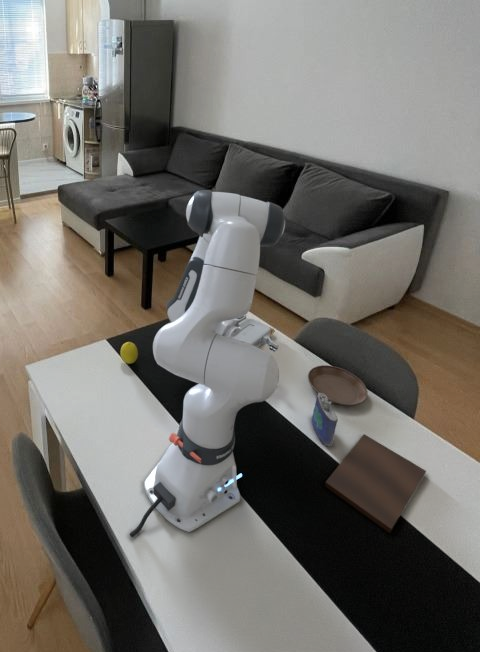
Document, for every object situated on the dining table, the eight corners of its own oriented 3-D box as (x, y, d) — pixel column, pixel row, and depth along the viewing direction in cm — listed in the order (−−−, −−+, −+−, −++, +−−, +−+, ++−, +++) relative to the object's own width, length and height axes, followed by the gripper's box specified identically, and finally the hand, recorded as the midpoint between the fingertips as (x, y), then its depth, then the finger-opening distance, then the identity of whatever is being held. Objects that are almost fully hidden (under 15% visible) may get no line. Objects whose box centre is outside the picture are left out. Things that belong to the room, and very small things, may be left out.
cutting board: (390, 533, 87) (391, 529, 87) (324, 486, 97) (325, 481, 97) (424, 475, 98) (426, 470, 98) (362, 438, 108) (363, 433, 107)
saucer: (375, 413, 115) (377, 406, 114) (316, 408, 117) (317, 400, 116) (353, 374, 128) (354, 367, 127) (300, 370, 131) (301, 363, 130)
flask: (333, 447, 106) (340, 415, 102) (321, 446, 106) (327, 414, 102) (320, 417, 114) (326, 386, 111) (308, 416, 115) (313, 386, 111)
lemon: (118, 359, 140) (117, 339, 137) (133, 355, 141) (133, 335, 138) (124, 370, 135) (124, 350, 132) (140, 366, 136) (140, 346, 133)
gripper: (203, 338, 121) (246, 364, 111) (245, 310, 132) (288, 331, 122) (202, 356, 124) (244, 383, 113) (243, 327, 135) (285, 349, 124)
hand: (267, 356), depth 118 cm, fingers open, 8 cm apart
